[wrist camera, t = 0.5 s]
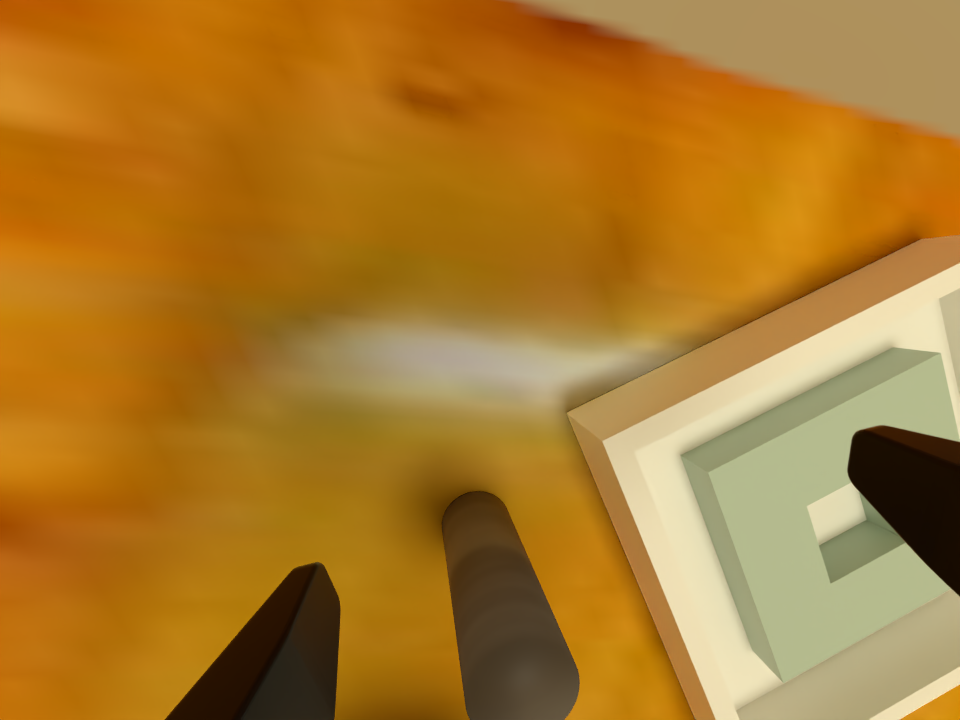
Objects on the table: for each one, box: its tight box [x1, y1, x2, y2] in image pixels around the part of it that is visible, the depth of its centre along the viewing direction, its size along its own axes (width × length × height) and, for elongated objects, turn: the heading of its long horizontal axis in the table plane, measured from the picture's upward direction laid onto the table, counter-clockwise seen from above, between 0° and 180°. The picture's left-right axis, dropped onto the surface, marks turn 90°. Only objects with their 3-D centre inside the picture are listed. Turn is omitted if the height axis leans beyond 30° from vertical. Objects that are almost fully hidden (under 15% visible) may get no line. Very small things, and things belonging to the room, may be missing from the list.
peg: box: [442, 491, 580, 720], centre depth 17 cm, size 3×3×9 cm
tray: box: [566, 235, 960, 720], centre depth 22 cm, size 20×20×4 cm
